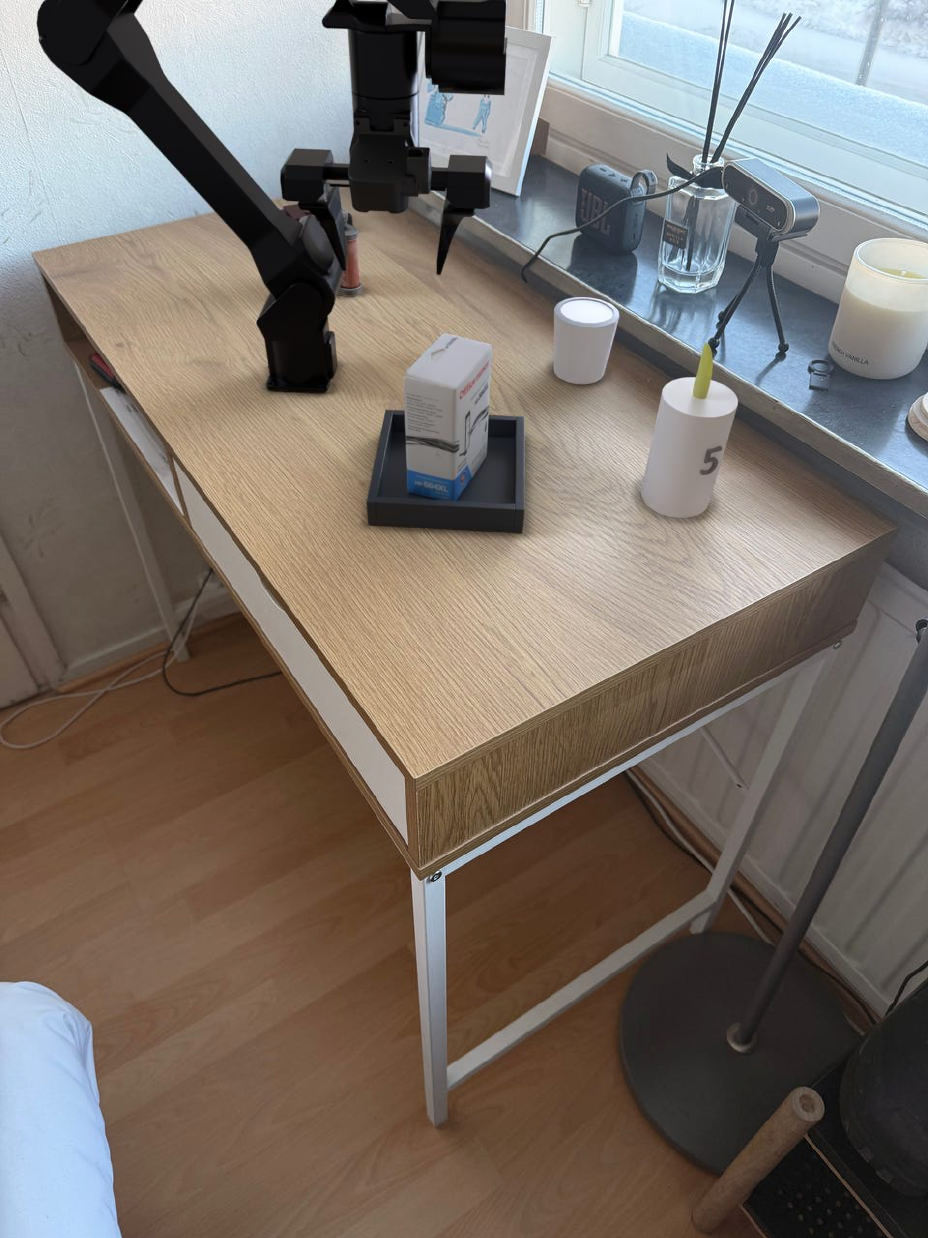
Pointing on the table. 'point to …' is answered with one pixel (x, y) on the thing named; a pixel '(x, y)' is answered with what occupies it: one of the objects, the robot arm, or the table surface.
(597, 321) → the white cylinder
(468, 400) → the ink box
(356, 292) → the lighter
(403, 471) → the tray
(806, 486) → the table surface
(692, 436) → the candle
